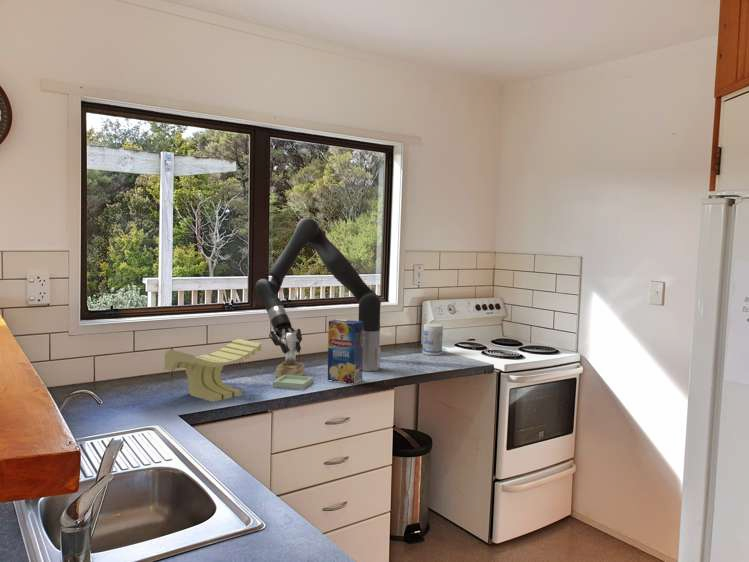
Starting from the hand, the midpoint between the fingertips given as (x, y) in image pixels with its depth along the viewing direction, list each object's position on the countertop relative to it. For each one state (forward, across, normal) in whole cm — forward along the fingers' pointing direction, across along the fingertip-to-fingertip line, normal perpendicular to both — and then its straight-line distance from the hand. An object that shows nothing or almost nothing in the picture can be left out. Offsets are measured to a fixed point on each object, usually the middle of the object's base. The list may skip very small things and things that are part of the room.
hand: (292, 351), depth 249 cm
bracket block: (+6, 0, +9) cm, 11 cm away
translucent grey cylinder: (+3, 0, +6) cm, 7 cm away
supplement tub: (+2, +83, +13) cm, 84 cm away
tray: (+15, -5, 0) cm, 16 cm away
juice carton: (+18, +16, -3) cm, 24 cm away
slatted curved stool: (+13, -36, +2) cm, 39 cm away
